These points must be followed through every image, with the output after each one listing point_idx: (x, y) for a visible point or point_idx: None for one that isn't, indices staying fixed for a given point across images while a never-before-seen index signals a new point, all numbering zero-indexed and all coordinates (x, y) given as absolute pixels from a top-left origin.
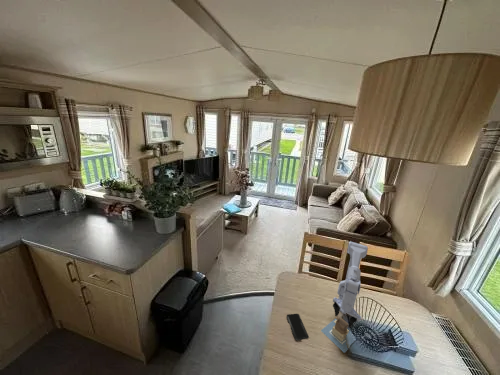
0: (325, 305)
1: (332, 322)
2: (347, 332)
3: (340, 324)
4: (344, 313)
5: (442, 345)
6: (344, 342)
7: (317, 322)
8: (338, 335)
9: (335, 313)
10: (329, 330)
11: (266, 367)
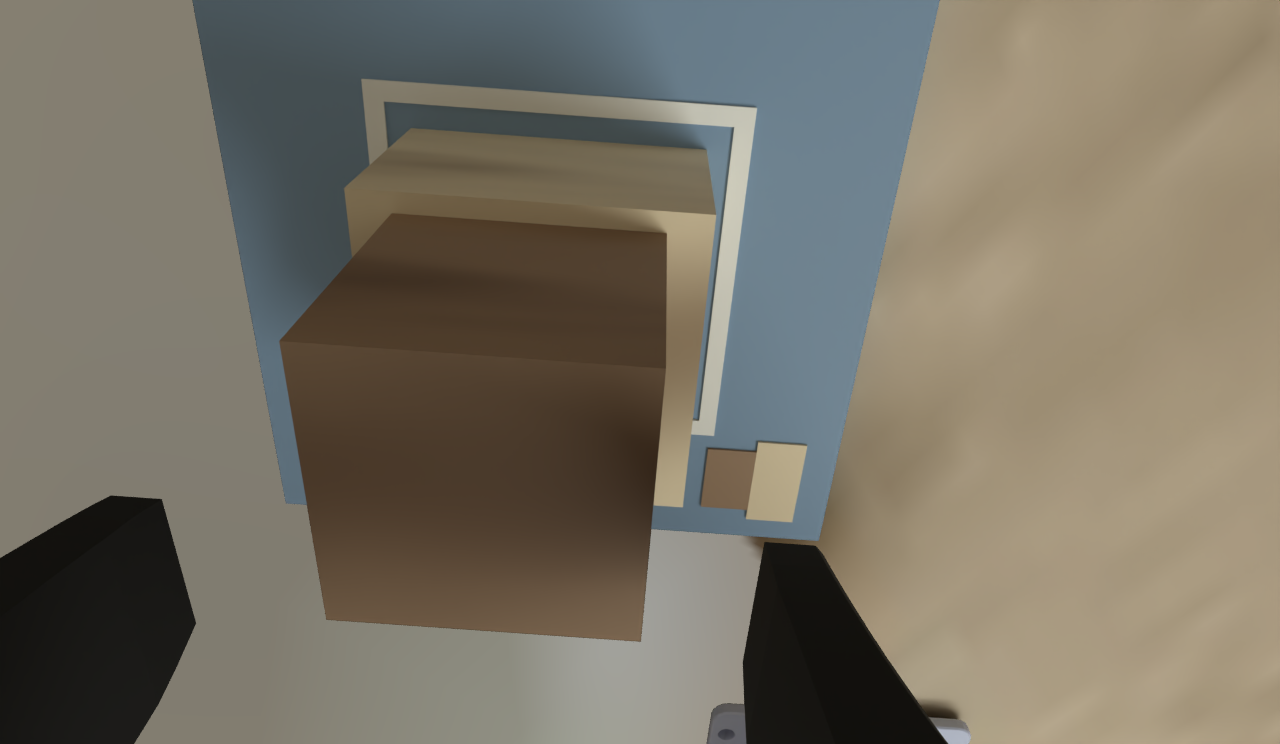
0: (1107, 636)
1: (819, 409)
2: None
3: (472, 386)
4: (739, 728)
5: None
6: None
7: (1117, 126)
8: (502, 163)
9: (852, 661)
10: (771, 161)
11: None
